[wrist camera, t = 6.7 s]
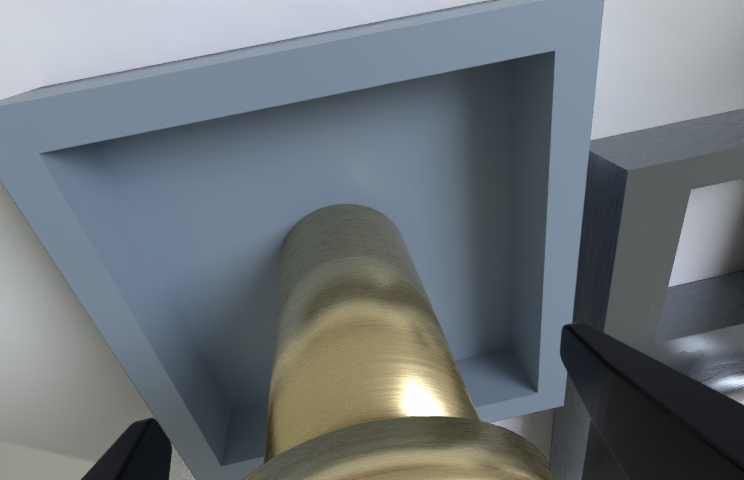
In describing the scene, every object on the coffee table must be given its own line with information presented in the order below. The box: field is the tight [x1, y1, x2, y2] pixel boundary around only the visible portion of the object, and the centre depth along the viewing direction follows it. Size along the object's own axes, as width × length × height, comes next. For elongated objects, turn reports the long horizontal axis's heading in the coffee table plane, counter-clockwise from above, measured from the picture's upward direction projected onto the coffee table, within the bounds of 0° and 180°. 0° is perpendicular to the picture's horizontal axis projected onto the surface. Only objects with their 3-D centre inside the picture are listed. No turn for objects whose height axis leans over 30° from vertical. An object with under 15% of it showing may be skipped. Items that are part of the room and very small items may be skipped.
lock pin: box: [242, 204, 557, 480], centre depth 10 cm, size 5×5×9 cm
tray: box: [0, 0, 604, 480], centre depth 13 cm, size 13×13×3 cm
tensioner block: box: [550, 109, 744, 480], centre depth 16 cm, size 18×10×6 cm, turn 10°
